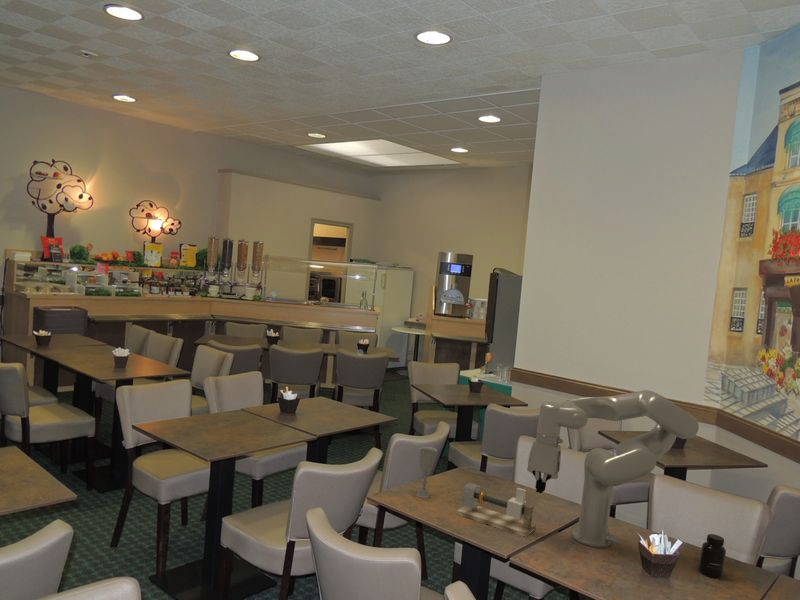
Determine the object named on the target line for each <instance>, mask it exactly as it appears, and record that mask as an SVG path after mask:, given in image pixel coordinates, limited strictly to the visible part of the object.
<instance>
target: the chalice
mask: <svg viewBox="0 0 800 600" xmlns="http://www.w3.org/2000/svg"><path fill="white" fill-rule="evenodd" d="M419 450H420V451H419V466H420V469H421V472H422V473H423V475H424V476H423V477H422V479H423V480H422V482H421V483H422V487H421V488H419V489H418V491H417V493H416V496H417V497H419V498H423V499H428V498H430V493H429V490H428V489H427V487H426V485H427V474H429V473H430V472H431V470H432V469H433V467H434V464H435V462H436V453H437V452H438V450H437V448H435V447H434V446H433V447H432V446H426V445H425V446H424V445H423V446H420V447H419Z"/></svg>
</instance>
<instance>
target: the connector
mask: <svg viewBox="0 0 800 600" xmlns="http://www.w3.org/2000/svg"><path fill="white" fill-rule="evenodd" d="M480 488H481V486H480V485H479V484H475V483H472V482H468V483H467V484H465V485H463V492H462V493H463V494H462V502H461V507H460V508H461V509H463V510H466V511H469V512H472V511H474V510H476V509H477V506H479V505H478V504H481V505H483V504H485V503H486V501H483V500H482V499H483V496H484V495H486V496H487V492H486V491H483V490H480ZM476 493H479V494H480V495H479V499H476V498H475V494H476Z"/></svg>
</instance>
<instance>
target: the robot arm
mask: <svg viewBox="0 0 800 600" xmlns="http://www.w3.org/2000/svg"><path fill="white" fill-rule="evenodd" d="M641 417H642V418H643V417H647V418H649V420H652V421H653V422H655V423H656V424H655V426H654V427H653V428H652V429H651V430H649V431H647V432H645V433H643V434H640V435H637V436H634V437H631V438H628V439H625V440H623V441H621V442H620V443H618V445H617V446H616V449H615V455H616V456H615V455H614V454H613V453H611V452H610V451H609V450H607V449H605V448H601V447H595V448H592V449H591V450H590V451H588V452H587V454H586V456H585V458H584V464H583V468H584V472H583V473H584V474H583V475H584V477H583V479H584V480H583V489H582V495H581V503H580V513H579V517H578V527H577V529H574V530H573V531H572V538H573V539H574V540H575V541H577V542H578V543H580V544H582V545H585V546H589V547H593V548H607V547H610V546H611V543H613V544H616V545H619V544H620V538H619V537H618V535H615V534H612V533H611V532H610V528H608V527H609V520H610V513H611V506H612V505H611V503H612V497H613V489H614V488H613V487H617V486H621V485H624V484H627V483H630V482H633V481H636V480H638V479H641V478H644V477H645V476H648V475H649V474H651V473H652V472H653V470H654V469H655V467H656V465H657V457H659V456H662V455H664V454H665V453H667V452H669V451H670V449H671V448H672V447H673V445H674V444H675V441H676V439H677V438H680V439H682V440H689V439H692V438H694V437H695V436H696V435H697V434H698V433H699V429H700V428H699V427H700V426H699V422H698V420H697V419H696V417H695V416H694V415H692V414H691V413H689V412H688V411H686V410H685V409H683V408H682V407H680V406H678V405H676V404H675V403H674V402H673V401H671V400H669V399H668V398H666V397H665V396H663V395H662V394H658V393H657V392H654V391H652V390H646V389H645V390H640V391H639V390H638V391H634V392H627V393H623V394H617V395H611V396H592V397H591V396H588V397H587V396H586V397H581V398H576V399H575V398H574V399H570V400H566V401H563V402H561V403H556V402H552V401H544V402H542V403H541V405H540V407H539V413H538V422H537V429H536V433H535V434H536V435H535V436H536V437H535V439H534V440H533V441H532V445H531V447H530V448H531V449H530V450H529V456H528V461H527V468H526V471H527V472H529V473H530V474H532V475H533V477H534V479H535V486H534V487H535V489H536V490H535V492H536V493H539V494H542V493H543V492H544V491H546V488H547V481H549V480H557V479H558V478H559V472H560V469H561V461H562V459H561V458H562V457H561V455H562V454H561V453H562V451H561V450H562V448H561V445H560V444H563V442H564V440H563V439H562V438H561V437H560V433H561V427H562V428H567V429H570V430H574V431H575V430H581V429H584V427H585V426H587V424H588V420H589V419H601V420H605V421H610V422H621V421H625V420H630V419H635V418H636V419H637V418H641ZM542 474H543V476H542Z"/></svg>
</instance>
